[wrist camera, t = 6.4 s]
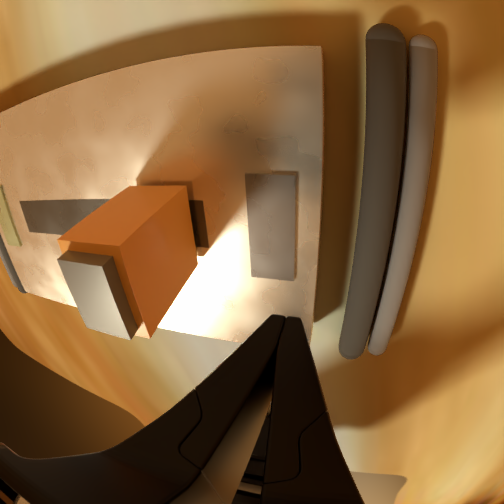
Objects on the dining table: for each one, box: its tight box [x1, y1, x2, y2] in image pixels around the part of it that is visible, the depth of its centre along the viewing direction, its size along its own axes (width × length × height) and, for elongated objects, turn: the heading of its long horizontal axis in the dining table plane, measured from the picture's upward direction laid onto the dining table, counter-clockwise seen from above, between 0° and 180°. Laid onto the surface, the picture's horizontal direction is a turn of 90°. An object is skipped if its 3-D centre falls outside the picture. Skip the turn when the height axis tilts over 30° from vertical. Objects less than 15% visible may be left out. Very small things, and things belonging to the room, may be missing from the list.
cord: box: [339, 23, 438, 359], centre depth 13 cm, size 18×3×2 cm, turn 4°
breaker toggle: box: [57, 185, 199, 340], centre depth 12 cm, size 4×3×6 cm
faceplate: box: [0, 46, 324, 346], centre depth 17 cm, size 15×24×2 cm, turn 94°
